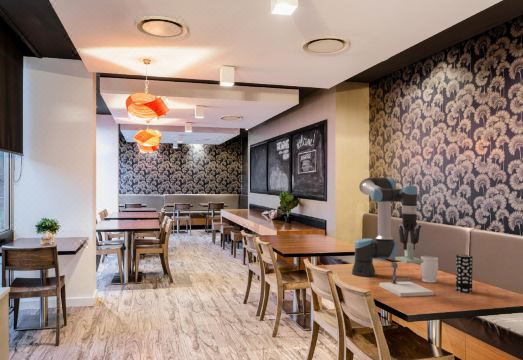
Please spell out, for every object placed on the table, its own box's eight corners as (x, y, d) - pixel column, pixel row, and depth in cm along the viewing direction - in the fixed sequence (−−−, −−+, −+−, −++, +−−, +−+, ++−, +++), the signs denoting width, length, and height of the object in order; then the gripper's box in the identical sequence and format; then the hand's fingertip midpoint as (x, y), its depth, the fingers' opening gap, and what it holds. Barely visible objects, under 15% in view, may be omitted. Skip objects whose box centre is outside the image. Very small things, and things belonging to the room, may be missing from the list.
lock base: (379, 286, 242) (379, 282, 242) (409, 285, 247) (409, 281, 247) (400, 296, 220) (400, 292, 220) (433, 295, 224) (433, 290, 224)
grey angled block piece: (393, 283, 238) (393, 263, 239) (391, 281, 244) (391, 261, 245) (411, 284, 237) (411, 264, 237) (408, 282, 243) (409, 262, 243)
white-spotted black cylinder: (465, 293, 229) (466, 257, 229) (452, 290, 236) (453, 255, 236) (475, 292, 232) (475, 256, 233) (462, 288, 240) (462, 254, 240)
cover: (395, 259, 234) (395, 242, 234) (411, 259, 236) (411, 242, 236) (406, 263, 222) (406, 245, 222) (423, 262, 224) (423, 245, 224)
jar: (439, 283, 251) (440, 259, 252) (421, 282, 253) (422, 258, 254) (436, 279, 262) (436, 256, 262) (418, 278, 264) (419, 255, 264)
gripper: (400, 213, 224) (399, 257, 224) (426, 213, 227) (425, 256, 227) (393, 212, 231) (392, 254, 231) (418, 212, 235) (417, 254, 234)
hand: (409, 255), depth 229 cm, fingers closed on cover, 2 cm apart
